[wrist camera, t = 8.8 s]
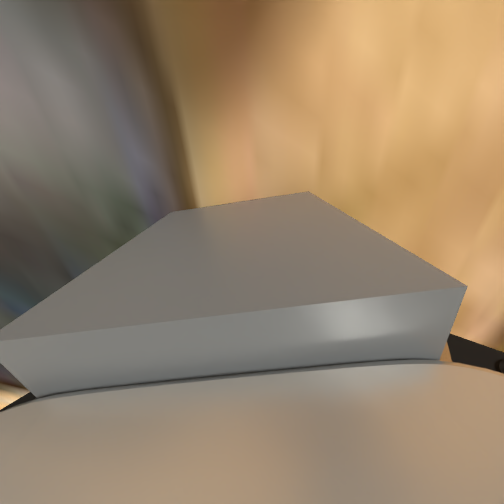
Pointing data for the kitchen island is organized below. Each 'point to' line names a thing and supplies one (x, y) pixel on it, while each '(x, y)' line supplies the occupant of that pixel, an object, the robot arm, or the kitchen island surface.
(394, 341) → the gray cube
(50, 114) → the kitchen island surface
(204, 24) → the kitchen island surface
